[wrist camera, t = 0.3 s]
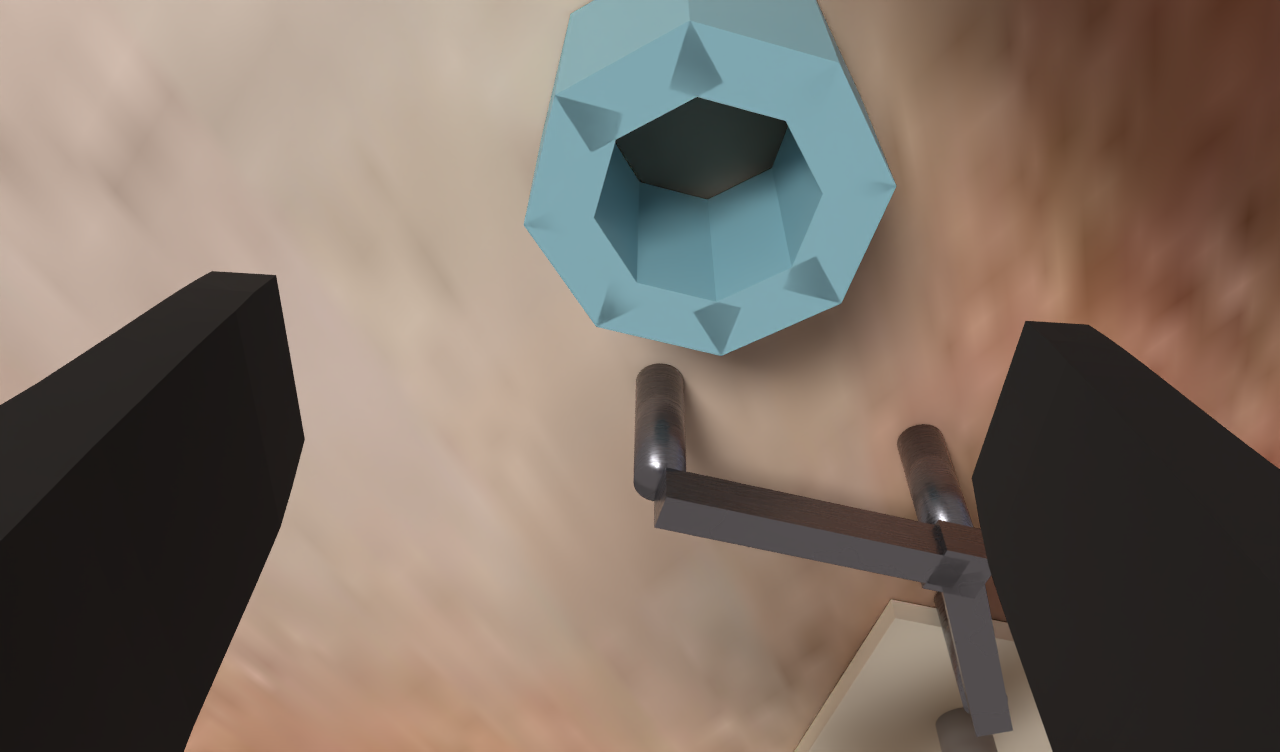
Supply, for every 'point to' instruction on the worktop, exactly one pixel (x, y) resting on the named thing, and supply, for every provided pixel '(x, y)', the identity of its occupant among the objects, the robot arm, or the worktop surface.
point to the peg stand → (918, 694)
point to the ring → (729, 222)
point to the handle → (839, 532)
